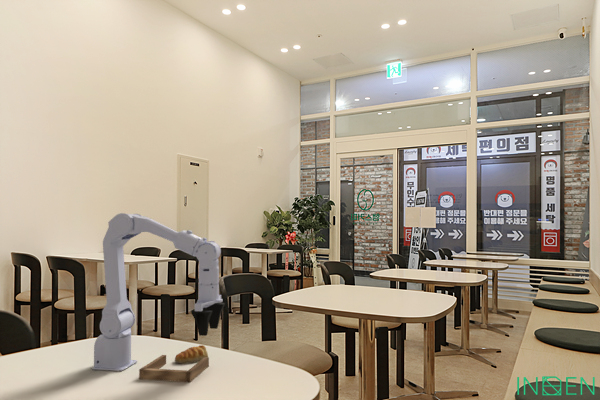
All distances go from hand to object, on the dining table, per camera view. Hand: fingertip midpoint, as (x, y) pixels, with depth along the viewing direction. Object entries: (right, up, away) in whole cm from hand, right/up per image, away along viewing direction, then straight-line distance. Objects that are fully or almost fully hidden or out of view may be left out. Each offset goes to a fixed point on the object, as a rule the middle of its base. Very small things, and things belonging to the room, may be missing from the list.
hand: (208, 331), depth 120 cm
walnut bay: (-8, -10, -4) cm, 13 cm away
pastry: (-6, -11, +6) cm, 14 cm away
